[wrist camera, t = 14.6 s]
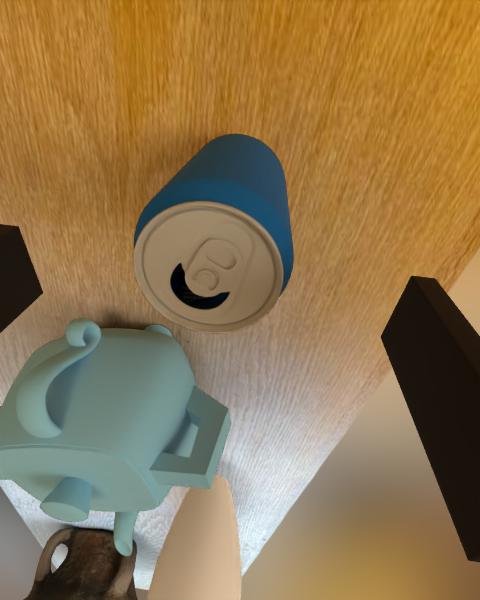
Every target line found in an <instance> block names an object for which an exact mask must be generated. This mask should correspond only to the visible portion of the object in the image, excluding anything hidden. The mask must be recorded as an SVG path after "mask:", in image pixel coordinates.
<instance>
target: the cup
mask: <svg viewBox="0 0 480 600" xmlns="http://www.w3.org/2000/svg"><path fill="white" fill-rule="evenodd" d="M147 600H241V561H240V549H239V537H238V526H237V520H236V515H235V509H234V503H233V498H232V494H231V490H230V486H229V483H228V481H227V480H226V479H225V478H223V477H221V476H218V475H215V477H214V480H213V483H212V486H211V489H204V488H194V487H190V489H189V491H188V492H187V494H186V496H185V498H184V500H183V502H182V504H181V506H180V508H179V510H178V512H177V514H176V516H175V518H174V520H173V523H172V525H171V528H170V530H169V533H168V535H167V538H166V540H165V543H164V545H163V548H162V550H161V552H160V555H159V557H158V560H157V564H156V567H155V571H154V574H153V578H152V582H151V585H150V589H149V592H148V596H147Z"/></svg>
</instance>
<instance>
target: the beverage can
mask: <svg viewBox="0 0 480 600" xmlns="http://www.w3.org/2000/svg"><path fill="white" fill-rule="evenodd" d="M293 260H294V255H293V243H292V234H291V225H290V216H289V208H288V199H287V190H286V182H285V175H284V171H283V168H282V165H281V163H280V161H279V159H278V158H277V156H276V155H275V153H274V152H273V151H272V150H271V149H270V148H269V147H268V146H267V145H266V144H264V143H263V142H261V141H260V140H258V139H256V138H253V137H251V136H247V135H242V134H229V135H224V136H221V137H218V138H216V139H214V140H212V141H210V142H209V143H207V144H206V145H205V146H204V147H203V148H202V149H201V150H200V151H199V152H198V153H197V154H196V155H195V156H194V157H193V158H192V159H191V160H190V161H189V162H188V163H187V164H186V165H185V166H184V167H183V168H182V169H181V170H180V171H179V172H178V173H177V174H176V175H175V176H174V177H173V178H172V179H171V180H170V181H169V182H168V183H167V184H166V185H165V186H164V187H163V188H162V189H161V190H160V191H159V192H158V193H157V194H156V195H155V196H154V197H153V198H152V199H151V201H150V202H149V203H148V204H147V206H146V207H145V208H144V210H143V212H142V213H141V215H140V217H139V220H138V223H137V225H136V230H135V235H134V254H133V268H134V274H135V278H136V281H137V284H138V286H139V288H140V290H141V292H142V294H143V295H144V297H145V298H146V300H147V301H148V302H149V303H150V304H151V306H152V307H153V308H154V309H155V310H156V311H158V312H159V313H160V314H161V315H162V316H164V317H165V318H167V319H168V320H170V321H172V322H173V323H175V324H177V325H179V326H181V327H184V328H187V329H190V330H193V331H197V332H202V333H212V334H221V333H230V332H235V331H239V330H242V329H245V328H247V327H250V326H251V325H253V324H255V323H257V322H258V321H260V320H261V319H262V318H263V317H265V316H266V315H267V314H268V313H269V312H270V310H271V309H272V308H273V307H274V305H275V303H276V302H277V300H278V298H279V297H280V295H281V294H282V293H283V291H284V289H285V288H286V286H287V284H288V281H289V279H290V276H291V272H292V269H293Z"/></svg>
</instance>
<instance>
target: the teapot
mask: <svg viewBox="0 0 480 600" xmlns="http://www.w3.org/2000/svg"><path fill="white" fill-rule="evenodd" d="M65 335H66V336H63V337H61V338H58V339H55V340H53V341H51V342H49V343H47V344H45V345H43V346H42V347H40V348H39V349H38V350H36V351H35V352H34V353H33V354H32V355H31V357H30V358H29V359H28V360H27V362H26V363H25V365H24V366H23V368H22V369H21V371H20V372H19V374H18V376H17V377H16V379H15V380H14V382H13V384H12V386H11V388H10V390H9V392H8V393H7V395H6V398H5V400H4V402H3V405H2V406H0V480H12V481H14V482H15V483H16V484H17V485H19V486H20V487H21V488H22V489H24V490H25V491H26V492H28V493H29V494H30V495H32V496H33V497H35V498H36V499H38V500H40V501H41V502H42V503H41V505H40V508H41V509H42V510H43V512H45V513H46V514H47V515H49V516H51V517H53V518H56V519H59V520H63V521H69V522H78V521H83V520H86V519H87V518H88V514H89V510H94V511H115V521H114V544H115V546H116V549H117V550H118V551H119V552H120V553H121V554H122V555H124V556H130V555H131V553H132V542H133V531H134V526H135V522H136V519H137V515H138V513H139V511H147V510H152V509H155V508H157V507H158V506H160V504H161V503H162V502H163V500H164V499H165V497H166V496H167V494H168V493H169V491H170V489H171V488H172V486H183V487H194V488H204V489H211V486H212V483H213V480H214V477H215V474H216V471H217V467H218V464H219V461H220V458H221V455H222V452H223V449H224V445H225V442H226V439H227V436H228V433H229V430H230V427H231V419H230V414H229V410H228V408H227V407H225V406H224V405H222V404H221V403H219V402H218V401H216V400H215V399H213V398H212V397H210V396H209V395H207V394H206V393H205V392H203V391H202V390H200V389H199V388H198V387H197V384H196V380H195V377H194V374H193V372H192V369H191V366H190V364H189V361H188V359H187V357H186V355H185V353H184V351H183V349H182V347H181V345H180V344H179V343H178V342H177V341H176V340H175V339H174V338H172V334H171V332H170V331H169V330H168V329H167V328H165V327H163V326H161V325H157V324H152V325H148V326H147V327H146V328H145V329H144V330H137V329H125V328H103V329H100V328H99V326H98V325H97V324H96V323H95V322H94V321H92V320H90V319H87V318H79V319H76V320H74V321H72V322H70V323H69V324H68V326H67V328H66V333H65ZM191 451H192V452H191ZM190 453H191V455H190ZM189 456H190V458H189Z"/></svg>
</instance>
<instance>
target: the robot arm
mask: <svg viewBox="0 0 480 600" xmlns="http://www.w3.org/2000/svg"><path fill="white" fill-rule="evenodd" d="M41 294H43V291H42V288H41V285H40V283H39V280H38V277H37V275H36V272H35V269H34V267H33V264H32V261H31V259H30V256H29V253H28V251H27V248H26V245H25V243H24V240H23V237H22V234H21V232H20V229H19V226H11V225H3V224H0V333H1V332H2V331H3V330H4V329H5V328H6V327H7V326H8V325H9V324H10V323H12V322H13V321H14V320H15V319H16V318H17V317H18V316H19V315H20V314H21V313H22V312H23V311H24V310H25V309H27V308H28V307H29V306H30V305H31V304H32V303H33V302H34V301H35V300H36V299H37V298H38V297H39V296H40V295H41ZM381 339H382V342H383V344H384V347H385V350H386V352H387V355H388V357H389V360H390V362H391V365H392V367H393V370H394V372H395V375H396V377H397V380H398V383H399V385H400V388H401V390H402V393H403V395H404V398H405V401H406V403H407V405H408V408H409V411H410V413H411V416H412V418H413V421H414V423H415V426H416V428H417V431H418V433H419V436H420V438H421V441H422V444H423V446H424V449H425V451H426V454H427V457H428V459H429V461H430V464H431V467H432V469H433V472H434V474H435V477H436V479H437V482H438V485H439V487H440V490H441V492H442V495H443V497H444V500H445V502H446V505H447V508H448V510H449V513H450V515H451V518H452V520H453V523H454V525H455V528H456V530H457V533H458V536H459V538H460V541H461V543H462V546H463V548H464V551H465V554H466V556H467V559H468V560H470V561H475V562H480V336H479V335H478V333H477V332H476V331H475V330H474V328H473V327H472V326H471V324H470V323H469V322H468V320H466V318H465V317H464V315H463V314H462V313H461V311H460V310H459V309H458V307H457V306H456V305H455V304H454V302H453V301H452V300H451V298H450V297H449V296H448V294H447V293H446V292H445V291H444V289H443V288H442V287H441V285H440V284H439V283H438V282H437V280H436V279H435V278H427V277H419V276H411V277H410V279H409V281H408V283H407V285H406V287H405V289H404V291H403V293H402V295H401V297H400V299H399V301H398V303H397V305H396V307H395V309H394V311H393V313H392V315H391V317H390V319H389V321H388V323H387V325H386V327H385V329H384V331H383V333H382V335H381Z"/></svg>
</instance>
